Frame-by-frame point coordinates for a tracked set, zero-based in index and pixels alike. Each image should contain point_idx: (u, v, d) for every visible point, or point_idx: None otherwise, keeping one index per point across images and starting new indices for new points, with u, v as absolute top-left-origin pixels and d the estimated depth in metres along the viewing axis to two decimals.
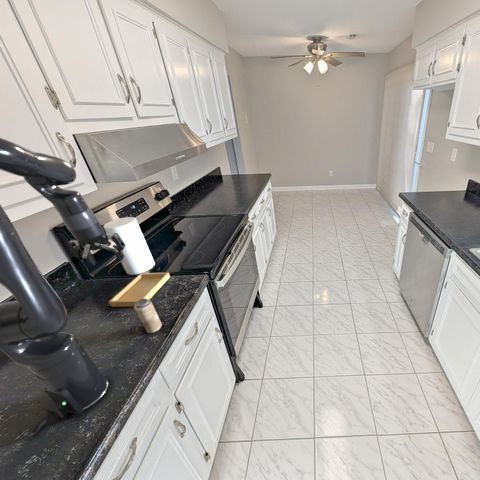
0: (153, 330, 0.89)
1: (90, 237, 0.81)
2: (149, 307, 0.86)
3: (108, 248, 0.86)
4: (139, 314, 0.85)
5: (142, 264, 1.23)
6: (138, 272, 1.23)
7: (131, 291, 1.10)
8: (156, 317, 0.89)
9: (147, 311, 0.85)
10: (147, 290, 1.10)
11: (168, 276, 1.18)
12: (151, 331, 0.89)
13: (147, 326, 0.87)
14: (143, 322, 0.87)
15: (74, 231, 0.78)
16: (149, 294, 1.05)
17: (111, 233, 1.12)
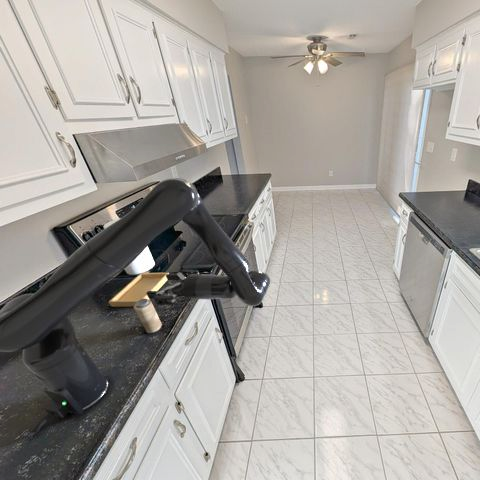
0: (153, 330, 0.89)
1: (186, 280, 0.74)
2: (149, 307, 0.86)
3: (166, 288, 0.75)
4: (139, 314, 0.85)
5: (142, 264, 1.23)
6: (138, 272, 1.23)
7: (131, 291, 1.10)
8: (156, 317, 0.89)
9: (147, 311, 0.85)
10: (147, 290, 1.10)
11: None
12: (151, 331, 0.89)
13: (147, 326, 0.87)
14: (143, 322, 0.87)
15: (200, 274, 0.76)
16: None
17: None
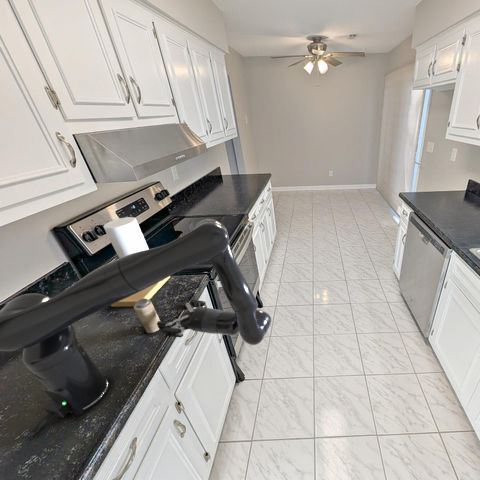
0: (153, 330, 0.89)
1: (194, 315, 0.80)
2: (149, 307, 0.86)
3: (175, 321, 0.81)
4: (139, 314, 0.85)
5: None
6: None
7: None
8: (156, 317, 0.89)
9: (147, 311, 0.85)
10: (147, 290, 1.10)
11: None
12: (151, 331, 0.89)
13: (147, 326, 0.87)
14: (143, 322, 0.87)
15: (207, 309, 0.82)
16: (149, 294, 1.05)
17: (111, 233, 1.12)
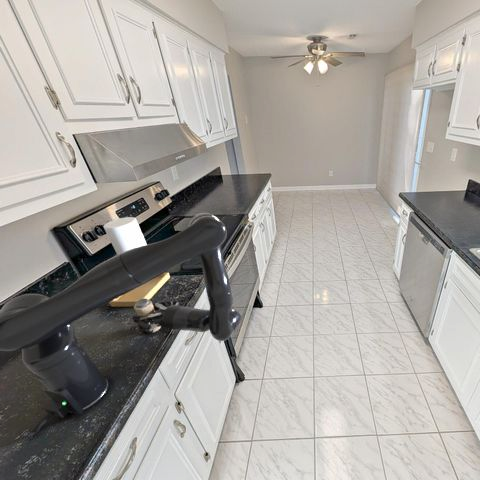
0: (153, 330, 0.89)
1: (166, 312, 0.83)
2: (149, 307, 0.86)
3: (148, 316, 0.84)
4: (139, 314, 0.85)
5: None
6: None
7: (131, 291, 1.10)
8: None
9: (147, 311, 0.85)
10: (147, 290, 1.10)
11: (168, 276, 1.18)
12: None
13: None
14: None
15: (179, 307, 0.84)
16: (149, 294, 1.05)
17: (111, 233, 1.12)
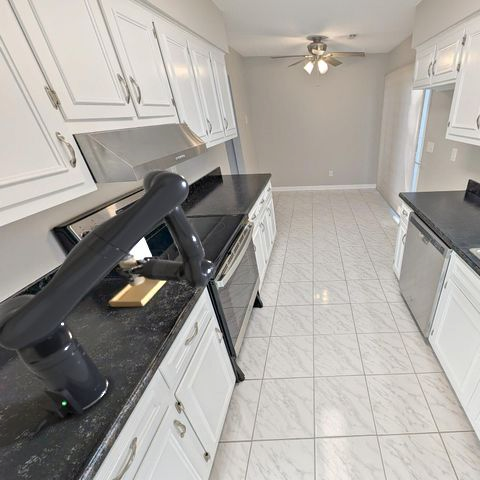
0: (136, 283, 0.96)
1: (146, 263, 0.89)
2: (131, 260, 0.93)
3: (130, 268, 0.91)
4: (122, 266, 0.92)
5: None
6: None
7: (131, 291, 1.10)
8: None
9: (130, 264, 0.92)
10: (147, 290, 1.10)
11: None
12: (134, 284, 0.96)
13: None
14: None
15: (159, 259, 0.91)
16: (149, 294, 1.05)
17: None
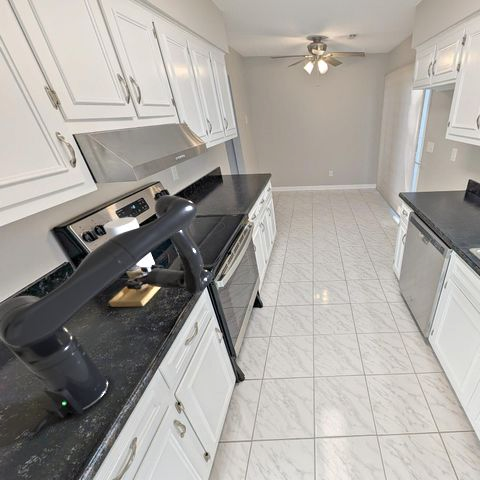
0: (142, 291, 1.08)
1: (150, 272, 1.02)
2: (138, 271, 1.05)
3: (136, 277, 1.02)
4: (130, 276, 1.04)
5: (142, 264, 1.23)
6: None
7: (131, 291, 1.10)
8: None
9: (136, 274, 1.05)
10: (147, 290, 1.10)
11: None
12: (140, 291, 1.08)
13: None
14: None
15: (161, 269, 1.03)
16: (149, 294, 1.05)
17: (111, 233, 1.12)
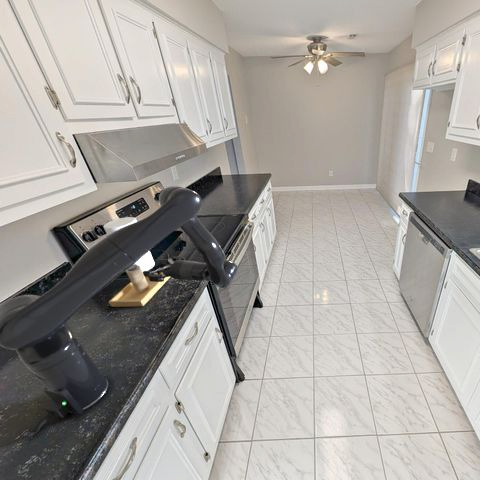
0: (142, 291, 1.08)
1: (173, 264, 0.96)
2: (138, 271, 1.05)
3: (158, 269, 0.97)
4: (130, 276, 1.04)
5: (142, 264, 1.23)
6: None
7: (131, 291, 1.10)
8: (144, 280, 1.08)
9: (136, 274, 1.05)
10: (147, 290, 1.10)
11: None
12: (140, 291, 1.08)
13: (137, 287, 1.07)
14: (133, 283, 1.06)
15: (185, 260, 0.98)
16: (149, 294, 1.05)
17: None
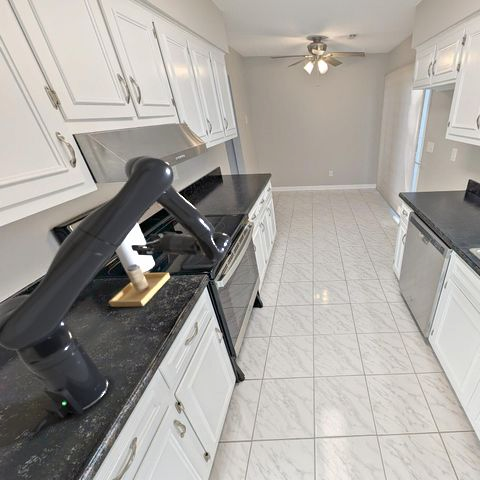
0: (142, 291, 1.08)
1: (163, 237, 0.91)
2: (138, 271, 1.05)
3: (147, 243, 0.92)
4: (130, 276, 1.04)
5: (142, 264, 1.23)
6: None
7: (131, 291, 1.10)
8: (144, 280, 1.08)
9: (136, 274, 1.05)
10: (147, 290, 1.10)
11: (168, 276, 1.18)
12: (140, 291, 1.08)
13: (137, 287, 1.07)
14: (133, 283, 1.06)
15: (175, 234, 0.93)
16: (149, 294, 1.05)
17: None
